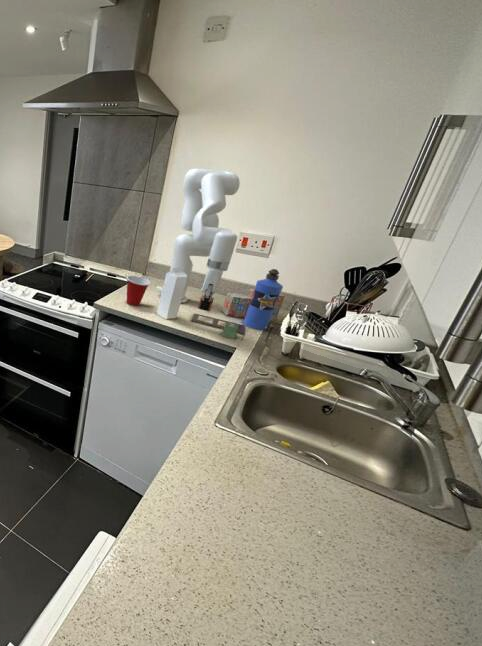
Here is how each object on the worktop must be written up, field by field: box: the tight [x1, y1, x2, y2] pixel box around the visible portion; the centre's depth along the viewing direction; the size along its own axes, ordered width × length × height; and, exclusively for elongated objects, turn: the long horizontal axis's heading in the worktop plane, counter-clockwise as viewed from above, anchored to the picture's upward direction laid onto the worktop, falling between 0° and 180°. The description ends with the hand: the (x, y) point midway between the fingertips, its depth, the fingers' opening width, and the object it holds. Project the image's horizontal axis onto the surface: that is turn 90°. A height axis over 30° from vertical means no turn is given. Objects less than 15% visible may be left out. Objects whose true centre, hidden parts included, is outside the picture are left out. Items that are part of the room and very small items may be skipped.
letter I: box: [221, 321, 238, 340], centre depth 156 cm, size 4×4×5 cm
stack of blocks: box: [221, 288, 285, 322], centre depth 176 cm, size 21×6×12 cm, turn 84°
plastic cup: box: [126, 275, 152, 307], centre depth 179 cm, size 11×11×12 cm
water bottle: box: [242, 268, 284, 331], centre depth 163 cm, size 9×9×25 cm
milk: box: [156, 267, 187, 320], centre depth 166 cm, size 6×6×22 cm
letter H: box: [197, 294, 215, 312], centre depth 158 cm, size 4×4×5 cm
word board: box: [190, 313, 245, 335], centre depth 167 cm, size 20×10×1 cm, turn 59°
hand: (204, 307), depth 158 cm, fingers closed on letter H, 4 cm apart
